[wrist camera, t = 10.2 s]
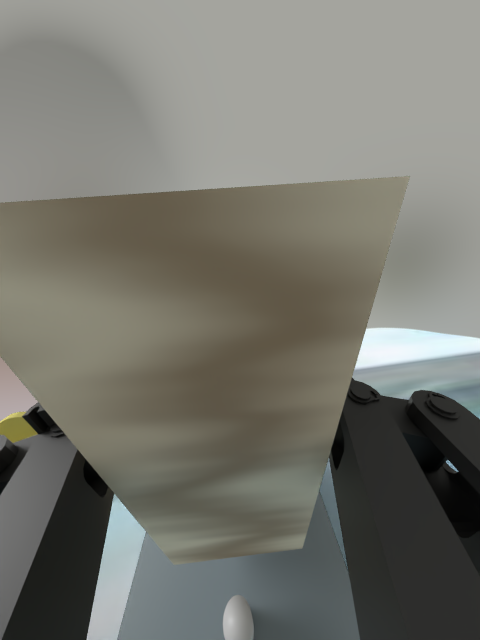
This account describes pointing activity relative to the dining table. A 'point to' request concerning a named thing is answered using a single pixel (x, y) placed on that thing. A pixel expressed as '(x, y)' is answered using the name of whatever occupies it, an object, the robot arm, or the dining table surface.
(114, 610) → the dining table surface
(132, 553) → the dining table surface
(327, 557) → the pin plate
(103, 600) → the dining table surface
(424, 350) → the dining table surface
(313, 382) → the birch block
